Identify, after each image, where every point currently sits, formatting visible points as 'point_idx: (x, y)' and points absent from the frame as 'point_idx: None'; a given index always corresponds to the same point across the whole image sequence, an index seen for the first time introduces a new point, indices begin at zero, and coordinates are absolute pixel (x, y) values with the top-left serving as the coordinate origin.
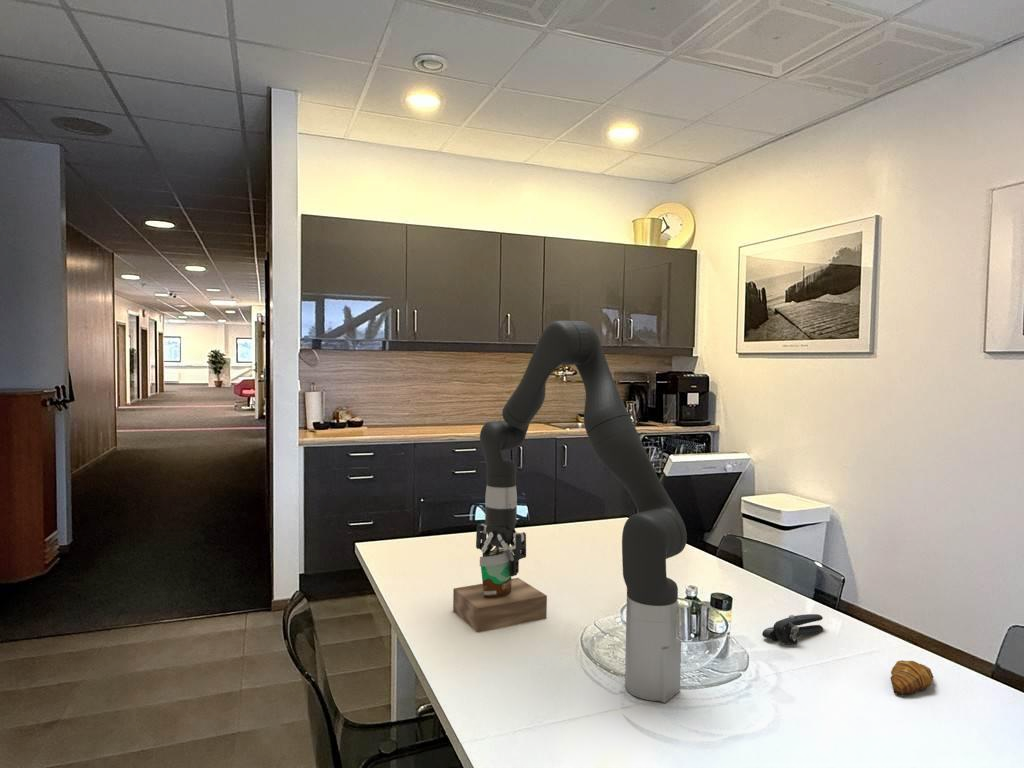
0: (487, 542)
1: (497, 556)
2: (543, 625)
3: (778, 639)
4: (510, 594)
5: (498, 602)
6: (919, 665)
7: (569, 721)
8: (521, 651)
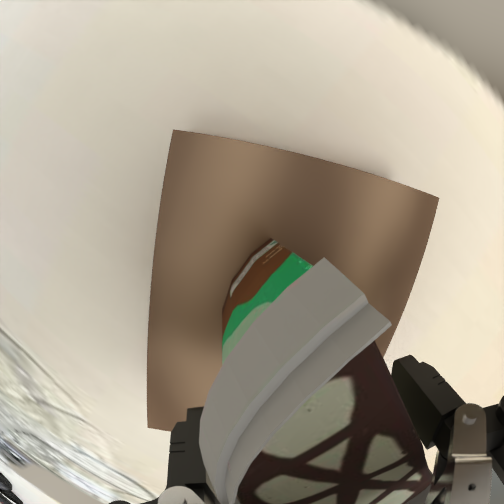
0: (467, 490)
1: (233, 471)
2: (119, 344)
3: None
4: None
5: (179, 259)
6: None
7: None
8: (15, 183)
